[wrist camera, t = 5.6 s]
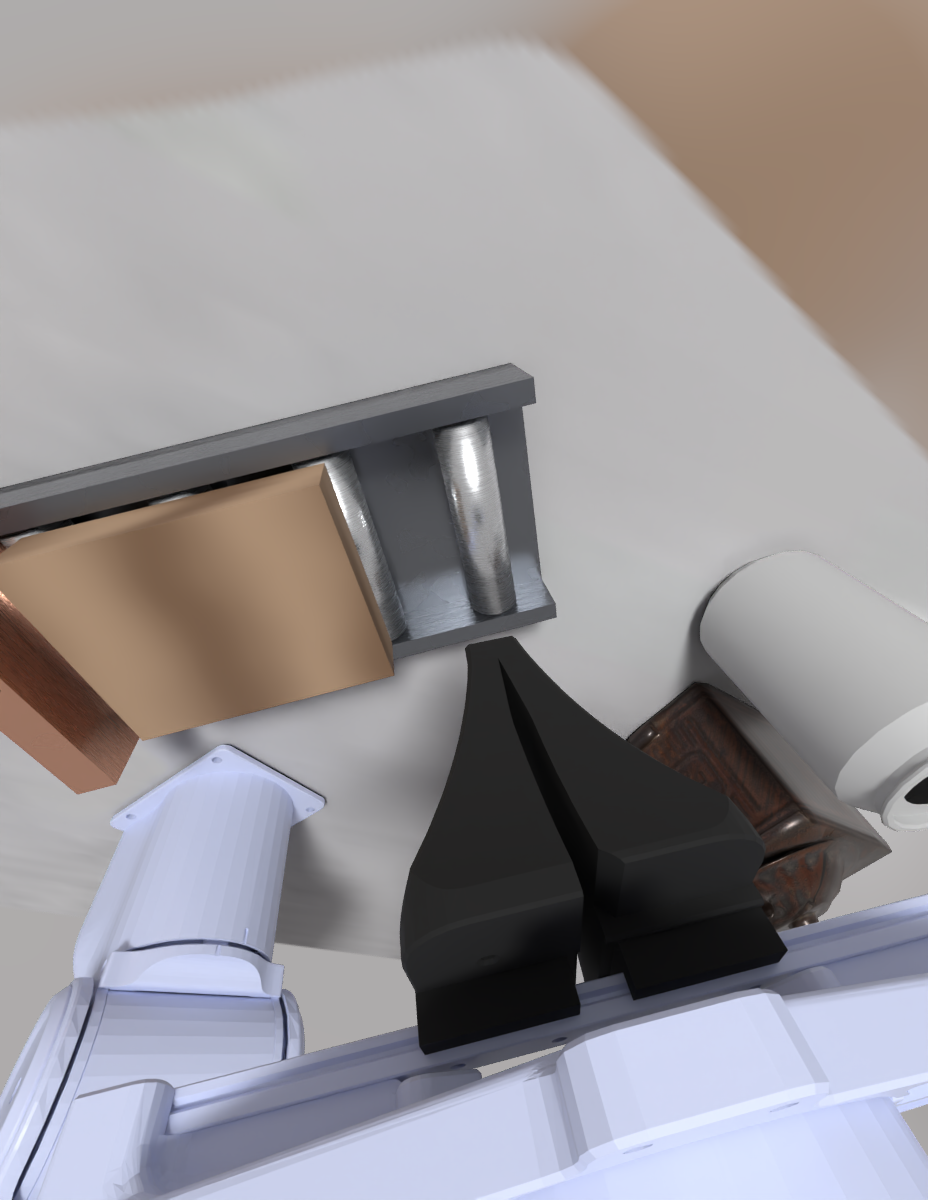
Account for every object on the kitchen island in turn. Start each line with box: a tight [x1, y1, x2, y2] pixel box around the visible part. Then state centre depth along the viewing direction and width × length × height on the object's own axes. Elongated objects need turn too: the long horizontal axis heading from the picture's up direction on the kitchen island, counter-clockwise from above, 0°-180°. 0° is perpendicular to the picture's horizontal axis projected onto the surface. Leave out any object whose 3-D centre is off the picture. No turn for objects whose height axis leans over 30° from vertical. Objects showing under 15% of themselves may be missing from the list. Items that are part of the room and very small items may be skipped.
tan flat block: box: [0, 463, 394, 741], centre depth 17 cm, size 10×8×2 cm
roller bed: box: [0, 363, 557, 794], centre depth 18 cm, size 20×10×6 cm, turn 101°
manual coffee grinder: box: [627, 683, 892, 932], centre depth 27 cm, size 16×11×18 cm
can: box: [700, 550, 928, 832], centre depth 22 cm, size 8×8×12 cm
